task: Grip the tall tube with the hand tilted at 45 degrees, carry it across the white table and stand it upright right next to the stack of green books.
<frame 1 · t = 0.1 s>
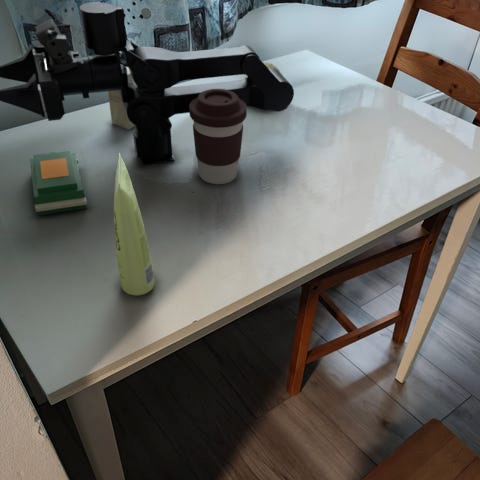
decorative item: (263, 97, 124), on the table
coffee cup: (217, 175, 100), on the table
tube: (138, 285, 78), on the table
box: (127, 123, 113), on the table
stack of green books: (60, 191, 94), on the table
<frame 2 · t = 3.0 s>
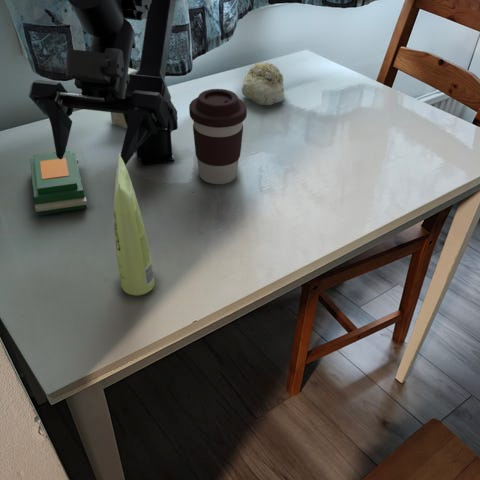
hand: (90, 161, 74), 15 cm above the table, tool tilted 50°, fingers open, 9 cm apart
nothing on the table moved.
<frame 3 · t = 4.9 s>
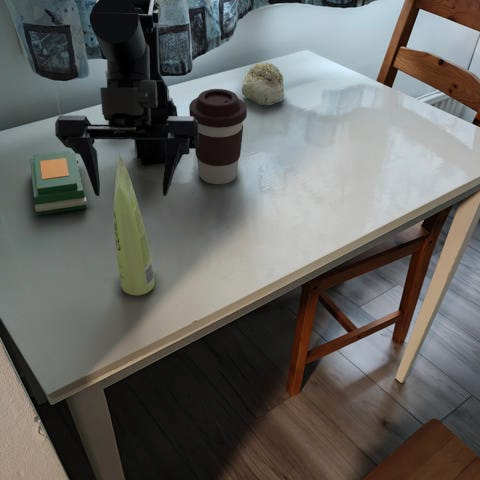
hand: (131, 195, 72), 13 cm above the table, tool tilted 45°, fingers open, 9 cm apart
nothing on the table moved.
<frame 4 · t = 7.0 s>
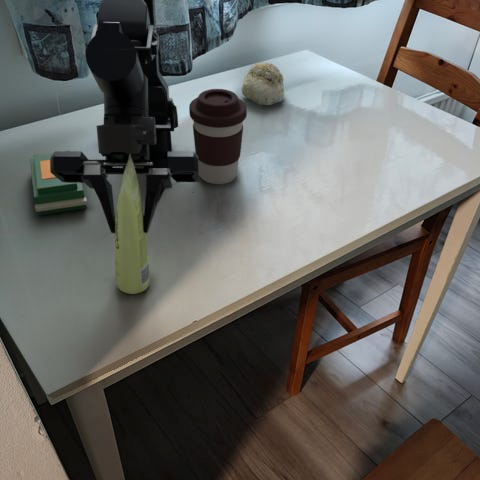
hand: (129, 232, 69), 11 cm above the table, tool tilted 45°, fingers closed on tube, 4 cm apart
tube: (133, 283, 78), on the table, touching gripper
everything else where it was.
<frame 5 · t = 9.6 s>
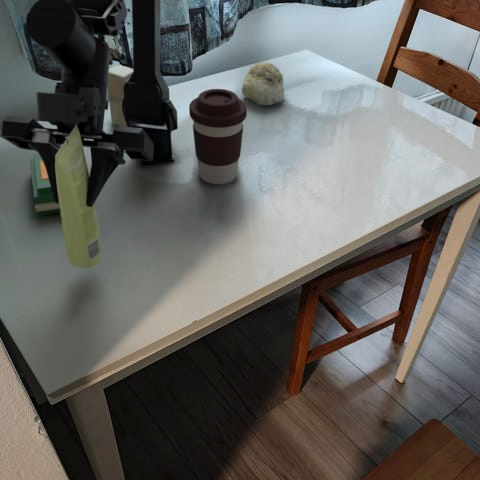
hand: (73, 204, 69), 13 cm above the table, tool tilted 45°, fingers closed on tube, 4 cm apart
tube: (86, 257, 78), point 3 cm above the table, touching gripper
everything else where it was.
when the fingers open (11 cm above the table, at t = 12.6 s): tube stays where it is, on the table.
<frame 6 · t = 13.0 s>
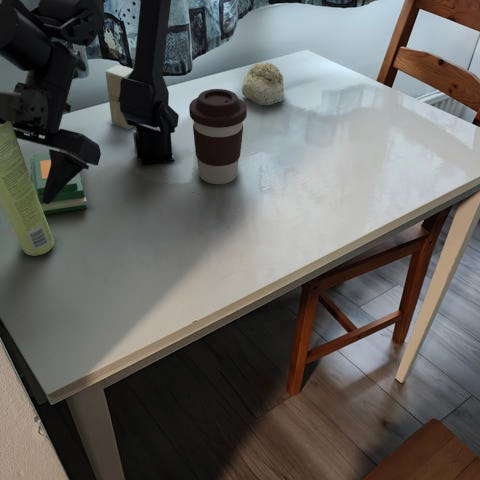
hand: (18, 195, 74), 11 cm above the table, tool tilted 45°, fingers open, 9 cm apart
tube: (40, 246, 83), on the table, touching gripper
everything else where it was.
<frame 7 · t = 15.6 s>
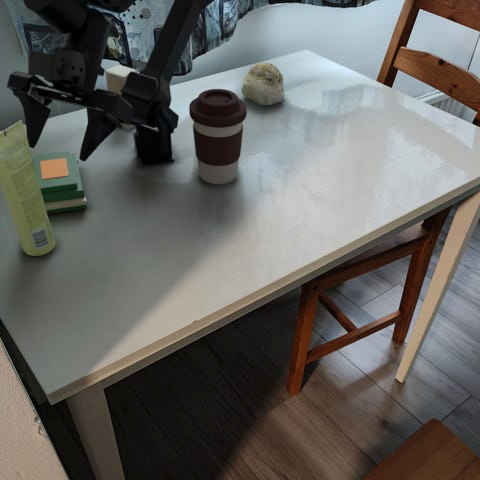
hand: (55, 153, 79), 13 cm above the table, tool tilted 45°, fingers open, 9 cm apart
tube: (40, 247, 83), on the table
everything else where it was.
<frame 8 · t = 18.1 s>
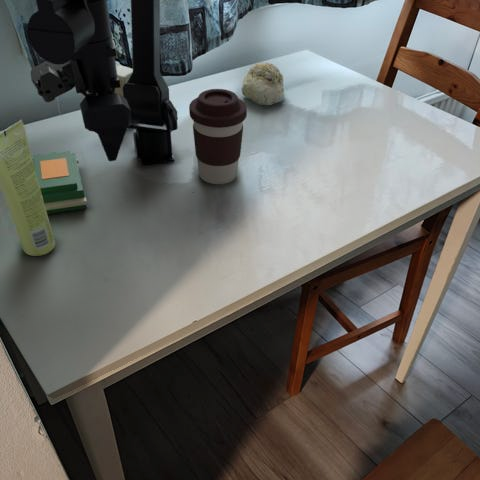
hand: (107, 145, 80), 13 cm above the table, tool pointing down, fingers open, 9 cm apart
nothing on the table moved.
at the end: tube inside the target area on the table beside the stack of green books (2.5 cm from its centre), on the table; tube tilted 0°; the gripper is holding nothing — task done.
